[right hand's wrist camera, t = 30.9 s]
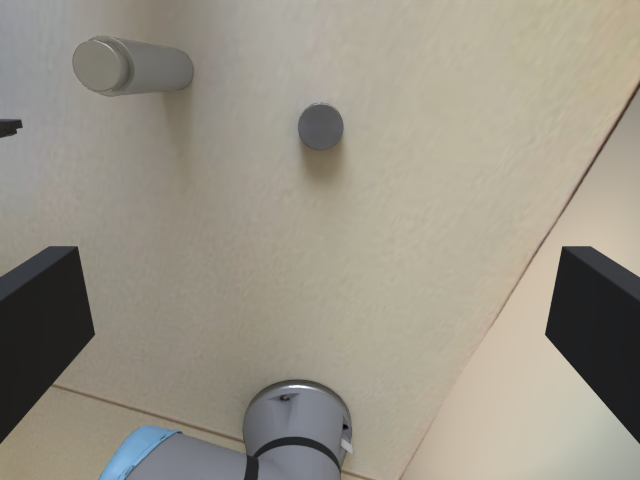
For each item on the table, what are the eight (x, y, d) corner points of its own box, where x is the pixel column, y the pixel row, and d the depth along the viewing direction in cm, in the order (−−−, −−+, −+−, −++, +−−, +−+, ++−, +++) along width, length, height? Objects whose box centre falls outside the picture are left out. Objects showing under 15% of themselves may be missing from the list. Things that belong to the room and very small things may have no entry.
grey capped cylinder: (148, 56, 48) (55, 45, 31) (184, 42, 48) (109, 25, 31) (165, 95, 49) (84, 105, 33) (199, 82, 49) (136, 86, 32)
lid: (345, 143, 51) (346, 145, 49) (303, 150, 52) (302, 153, 50) (338, 98, 50) (339, 99, 48) (295, 107, 50) (294, 108, 48)
